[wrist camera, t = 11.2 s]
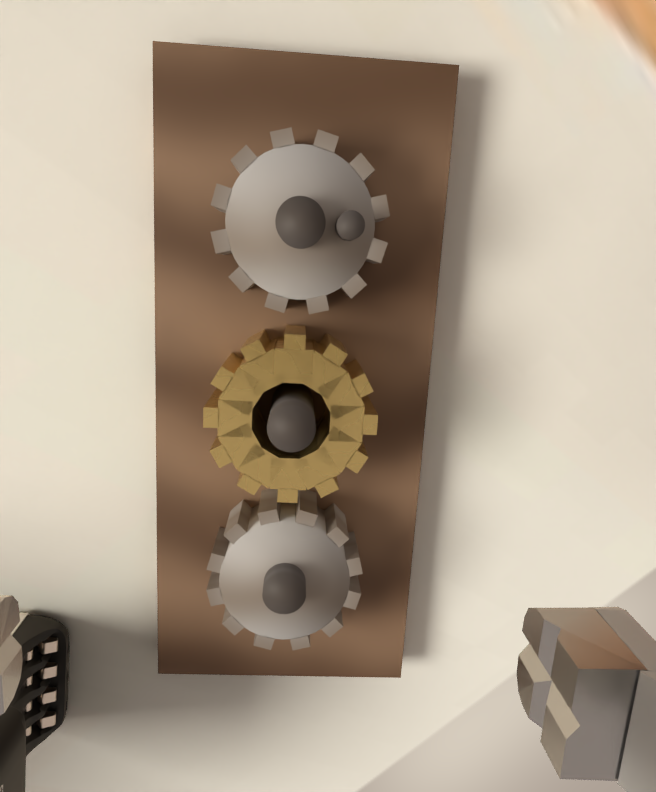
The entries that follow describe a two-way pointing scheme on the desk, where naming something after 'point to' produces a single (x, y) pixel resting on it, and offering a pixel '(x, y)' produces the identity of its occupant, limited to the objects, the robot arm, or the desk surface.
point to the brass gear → (247, 428)
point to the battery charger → (34, 696)
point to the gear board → (272, 310)
